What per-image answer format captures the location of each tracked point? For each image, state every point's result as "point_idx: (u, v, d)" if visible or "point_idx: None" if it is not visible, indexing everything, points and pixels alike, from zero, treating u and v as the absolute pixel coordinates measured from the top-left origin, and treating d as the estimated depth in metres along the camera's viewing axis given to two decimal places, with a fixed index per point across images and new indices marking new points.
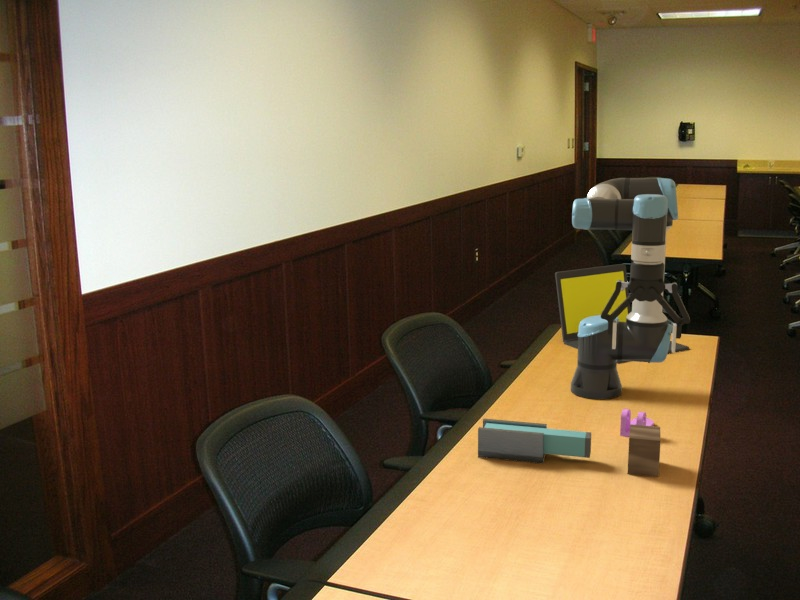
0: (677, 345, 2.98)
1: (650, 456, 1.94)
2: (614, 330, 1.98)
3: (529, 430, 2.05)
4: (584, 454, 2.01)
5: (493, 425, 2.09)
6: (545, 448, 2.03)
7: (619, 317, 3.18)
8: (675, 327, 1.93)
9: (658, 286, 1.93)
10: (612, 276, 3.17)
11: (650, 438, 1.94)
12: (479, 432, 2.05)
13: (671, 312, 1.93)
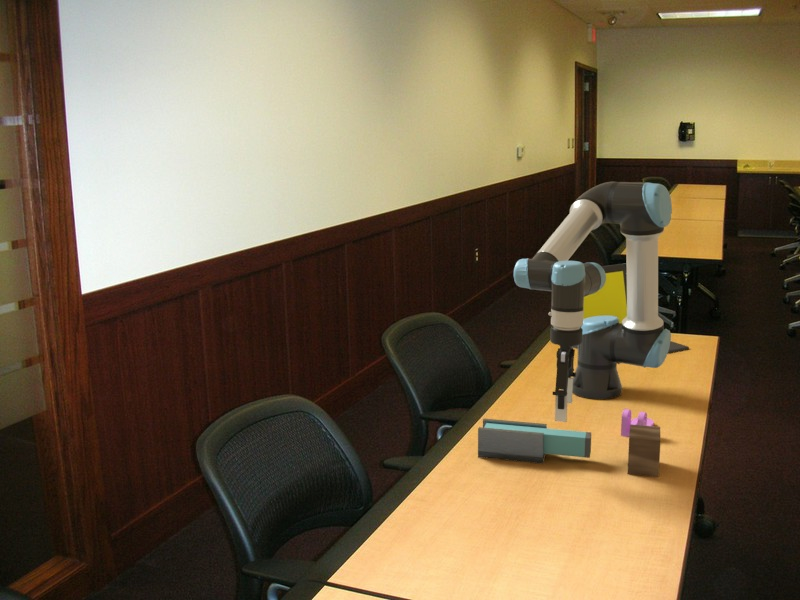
0: (677, 345, 2.98)
1: (650, 456, 1.94)
2: None
3: (529, 430, 2.05)
4: (584, 454, 2.01)
5: (493, 425, 2.09)
6: (545, 448, 2.03)
7: (619, 317, 3.18)
8: None
9: None
10: (612, 276, 3.17)
11: (650, 438, 1.94)
12: (479, 432, 2.05)
13: None
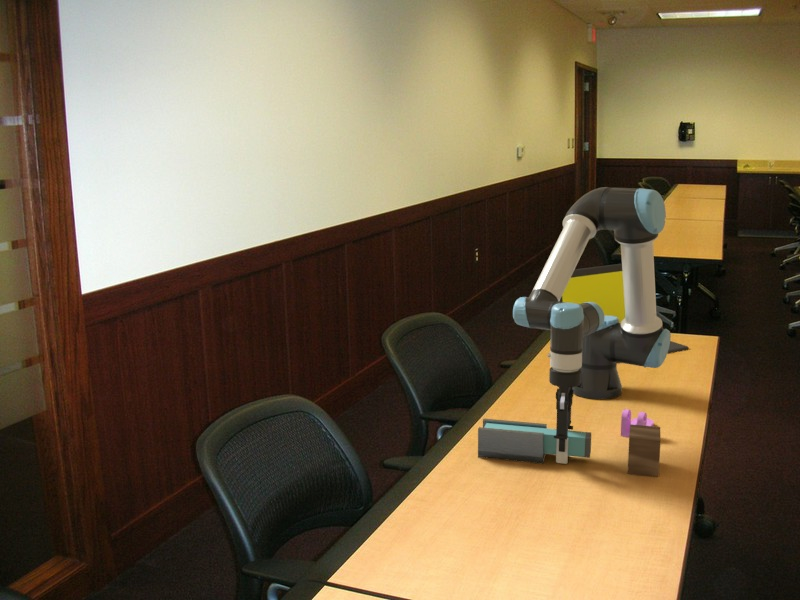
0: (676, 345, 2.98)
1: (650, 456, 1.94)
2: None
3: (529, 430, 2.05)
4: (584, 454, 2.01)
5: (493, 425, 2.09)
6: (545, 448, 2.03)
7: (618, 317, 3.18)
8: None
9: None
10: (612, 276, 3.17)
11: (650, 438, 1.94)
12: (479, 432, 2.05)
13: None
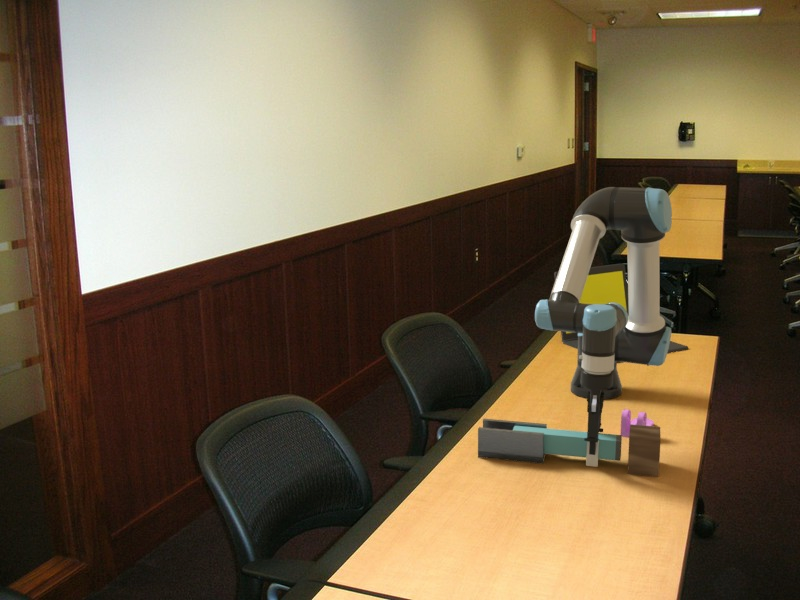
0: (676, 345, 2.98)
1: (650, 456, 1.94)
2: None
3: (558, 433, 2.03)
4: (615, 457, 1.99)
5: (522, 428, 2.07)
6: (575, 451, 2.01)
7: None
8: (587, 441, 1.99)
9: (590, 394, 1.96)
10: (611, 276, 3.18)
11: (650, 438, 1.94)
12: (479, 432, 2.05)
13: None
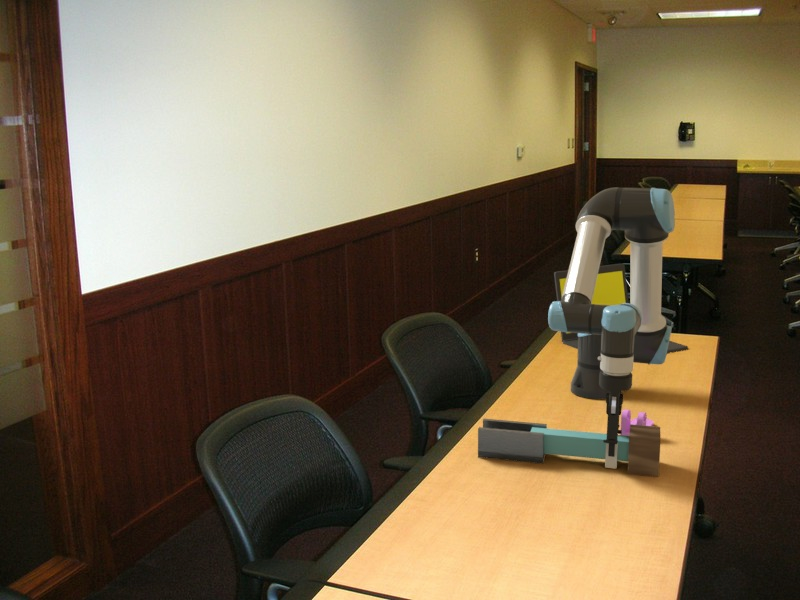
0: (676, 345, 2.98)
1: (650, 456, 1.94)
2: None
3: (577, 434, 2.02)
4: None
5: (539, 429, 2.05)
6: (593, 453, 2.00)
7: None
8: (606, 442, 1.98)
9: (609, 396, 1.95)
10: (611, 276, 3.18)
11: (650, 438, 1.94)
12: (479, 432, 2.05)
13: None
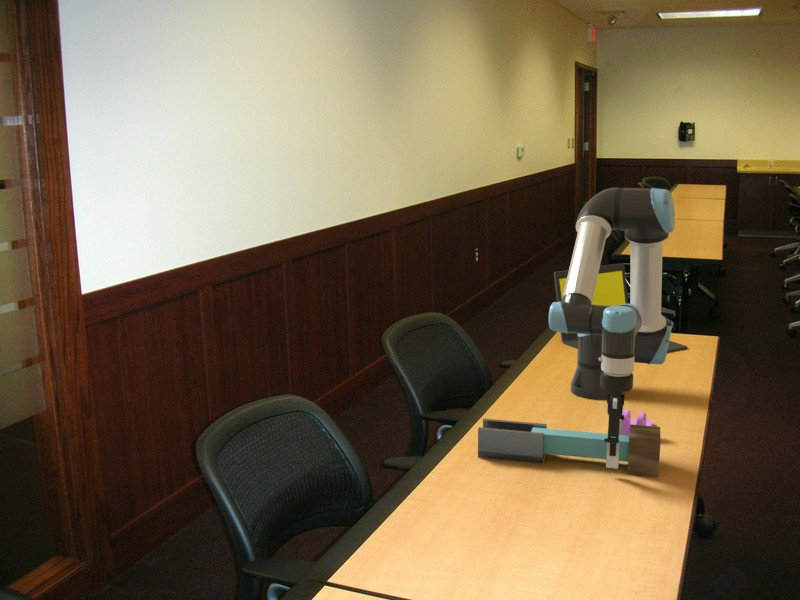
0: (675, 345, 2.98)
1: (650, 456, 1.94)
2: None
3: (577, 434, 2.02)
4: None
5: (540, 429, 2.05)
6: (594, 453, 2.00)
7: None
8: (607, 442, 1.93)
9: (610, 397, 1.95)
10: (611, 276, 3.18)
11: (650, 438, 1.94)
12: (479, 432, 2.05)
13: None
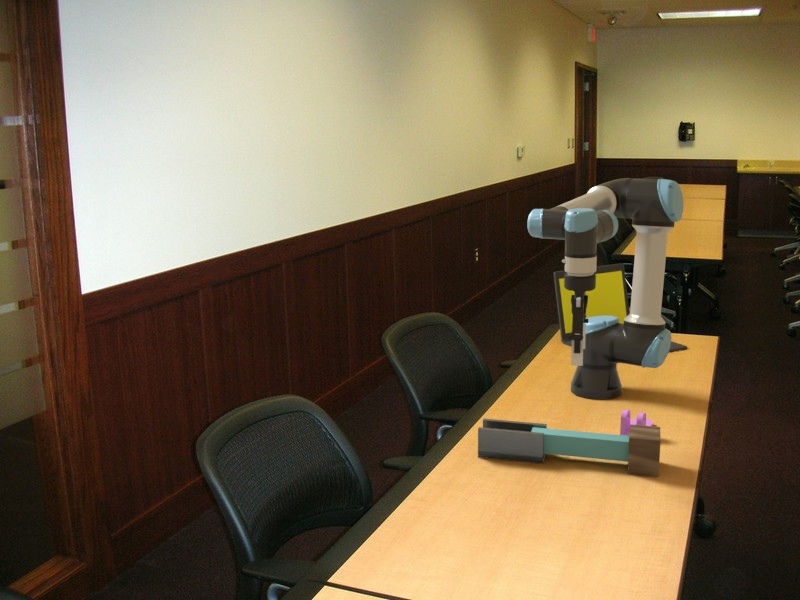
0: (675, 344, 2.99)
1: (650, 456, 1.94)
2: None
3: (577, 434, 2.02)
4: None
5: (540, 429, 2.05)
6: (594, 453, 2.00)
7: (617, 316, 3.19)
8: None
9: (574, 297, 2.00)
10: (611, 276, 3.18)
11: (650, 438, 1.94)
12: (479, 432, 2.05)
13: None
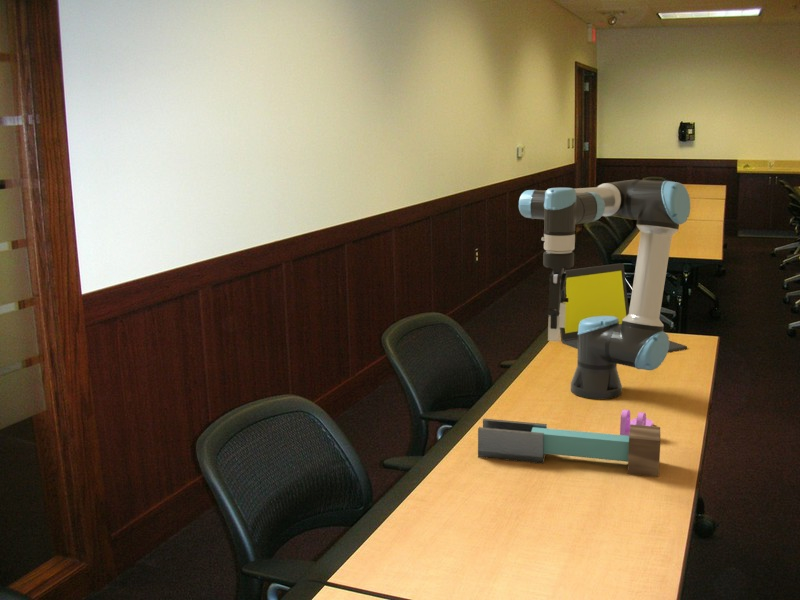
0: (675, 344, 2.99)
1: (650, 456, 1.94)
2: None
3: (577, 434, 2.02)
4: None
5: (540, 429, 2.05)
6: (594, 453, 2.00)
7: (617, 316, 3.19)
8: None
9: None
10: (610, 276, 3.18)
11: (650, 438, 1.94)
12: (479, 432, 2.05)
13: None
